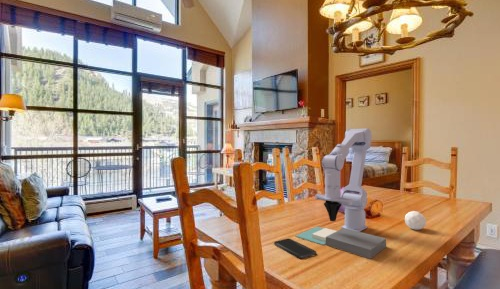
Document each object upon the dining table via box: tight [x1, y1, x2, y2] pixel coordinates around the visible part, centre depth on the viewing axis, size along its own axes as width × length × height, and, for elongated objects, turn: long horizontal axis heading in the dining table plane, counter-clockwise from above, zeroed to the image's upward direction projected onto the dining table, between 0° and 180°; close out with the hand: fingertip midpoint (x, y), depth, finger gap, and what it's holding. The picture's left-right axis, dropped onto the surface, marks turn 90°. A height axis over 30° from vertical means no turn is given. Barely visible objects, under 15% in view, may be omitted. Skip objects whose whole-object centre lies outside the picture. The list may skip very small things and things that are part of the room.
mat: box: [295, 226, 326, 246], centre depth 105 cm, size 16×12×1 cm
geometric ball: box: [404, 210, 427, 231], centre depth 112 cm, size 8×8×8 cm
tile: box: [312, 227, 338, 242], centre depth 103 cm, size 10×7×2 cm
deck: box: [325, 228, 387, 260], centre depth 94 cm, size 14×16×3 cm
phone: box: [273, 237, 317, 260], centre depth 92 cm, size 8×1×15 cm
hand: (332, 220), depth 101 cm, fingers closed
